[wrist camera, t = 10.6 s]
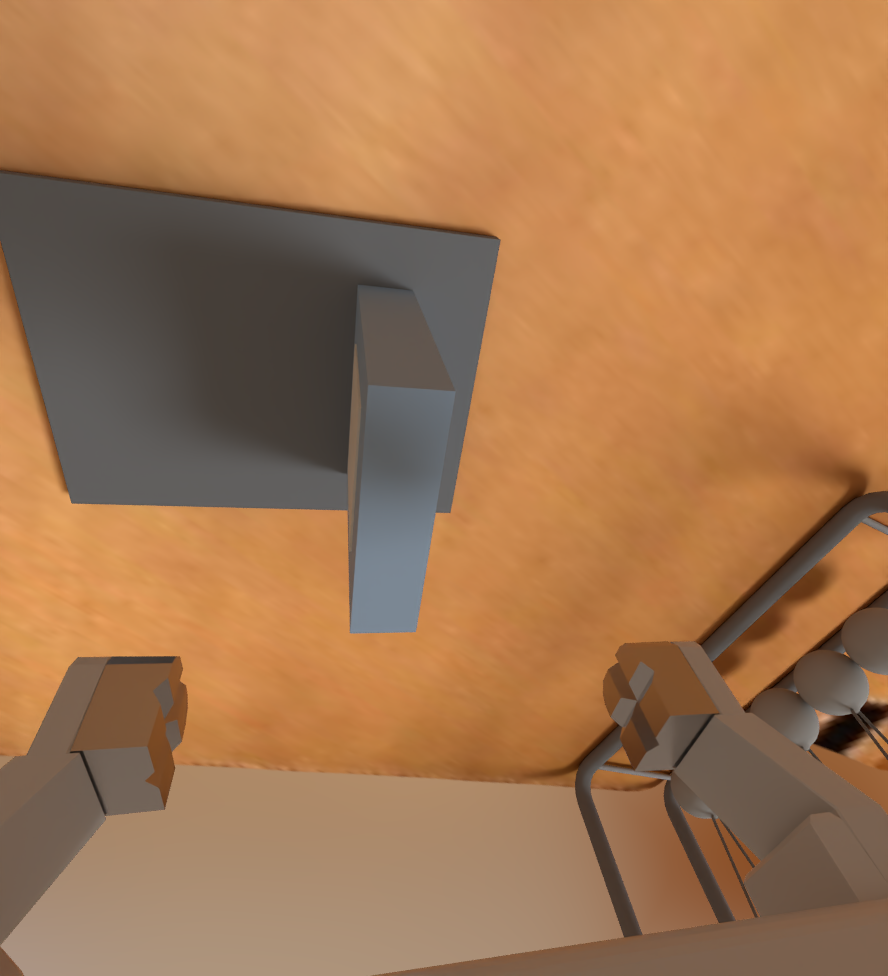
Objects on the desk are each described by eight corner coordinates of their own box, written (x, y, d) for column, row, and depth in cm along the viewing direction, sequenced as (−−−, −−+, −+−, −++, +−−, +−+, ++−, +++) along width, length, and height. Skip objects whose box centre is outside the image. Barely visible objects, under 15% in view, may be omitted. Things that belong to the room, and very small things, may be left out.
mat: (-8, 169, 17) (-19, 170, 16) (496, 236, 20) (500, 240, 19) (77, 495, 23) (71, 503, 23) (448, 505, 26) (450, 512, 26)
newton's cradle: (661, 787, 47) (806, 1091, 32) (564, 773, 43) (679, 1111, 28) (971, 527, 34) (1451, 838, 19) (872, 472, 30) (1381, 810, 15)
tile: (345, 473, 24) (347, 633, 16) (355, 284, 20) (365, 384, 12) (392, 475, 24) (415, 631, 17) (413, 290, 20) (455, 391, 13)
